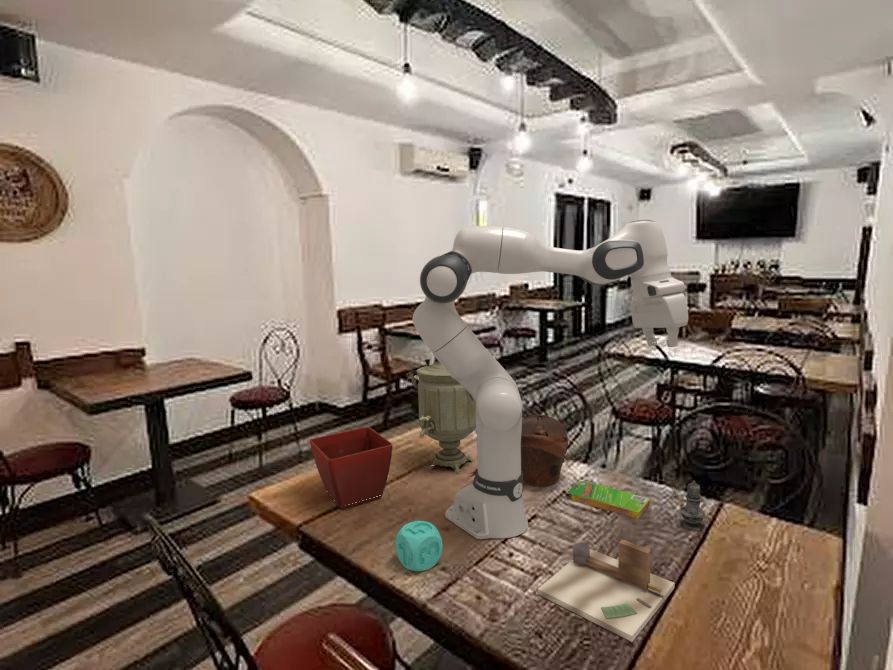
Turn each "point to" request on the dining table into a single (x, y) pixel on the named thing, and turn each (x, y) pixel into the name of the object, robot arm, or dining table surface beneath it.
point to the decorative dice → (418, 545)
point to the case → (542, 449)
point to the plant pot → (353, 465)
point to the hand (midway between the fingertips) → (662, 346)
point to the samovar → (444, 412)
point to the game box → (609, 499)
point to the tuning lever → (621, 563)
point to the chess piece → (692, 509)
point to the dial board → (606, 596)
